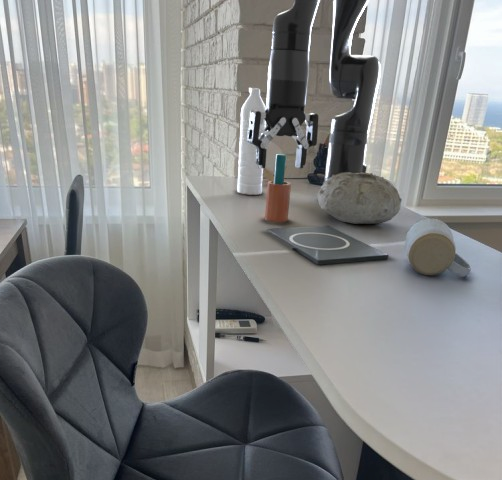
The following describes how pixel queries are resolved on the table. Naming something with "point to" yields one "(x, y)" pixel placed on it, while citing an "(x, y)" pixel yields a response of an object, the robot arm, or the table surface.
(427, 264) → the ceramic mug
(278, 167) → the marker
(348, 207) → the grey rounded lump
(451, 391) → the table surface
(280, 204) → the pen cup
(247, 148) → the water bottle
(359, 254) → the slate board
